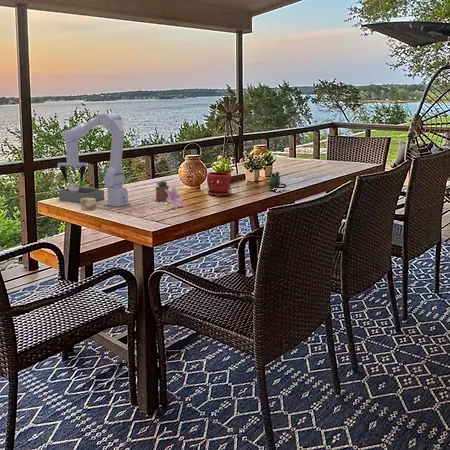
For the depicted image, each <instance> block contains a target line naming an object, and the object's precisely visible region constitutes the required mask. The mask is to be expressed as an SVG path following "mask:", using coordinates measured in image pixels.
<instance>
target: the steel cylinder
mask: <svg viewBox="0 0 450 450" xmlns="http://www.w3.org/2000/svg"><path fill="white" fill-rule="evenodd" d="M67 186H68V188H69V192H76V193H79V187H80V185H79V184H78V183H70V184H68V185H67ZM68 188H67V189H68Z"/></svg>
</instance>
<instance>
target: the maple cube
mask: <svg viewBox="0 0 450 450" xmlns="http://www.w3.org/2000/svg"><path fill="white" fill-rule="evenodd" d="M80 202H81V204H80V210H83V211H88V210H90V211H93V210H96V209H97V202H96V198H89V197H87V198H83V199H80Z"/></svg>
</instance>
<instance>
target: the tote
mask: <svg viewBox="0 0 450 450" xmlns="http://www.w3.org/2000/svg"><path fill="white" fill-rule="evenodd" d="M87 197H89V198H96V203H97V202H99V201H103V200H105V190H104V189H100V188H92V187H85V186H79V193H76V192H69V188H65V189H58V200H59V201H62V202H69V203H76V204H80V205H81V202H80V199H83V198H87Z"/></svg>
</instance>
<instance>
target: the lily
mask: <svg viewBox="0 0 450 450" xmlns="http://www.w3.org/2000/svg"><path fill="white" fill-rule="evenodd" d="M165 190H166V189H165ZM170 190H171V191H170ZM170 190H169V189H168V190H166V192H167V193H168V198H167V199H166V200H167V201H166V202H168V203H167V205H166V207H168V206H169V205H170V203H172V205H173V207H174V209H175V210H177V208H178V206H181V207H183V208H186V205H185V203H184V202H183V200H182V197H183V195H182V194H179V193H178V189H176V187H175V185H172V187H171V189H170Z"/></svg>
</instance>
